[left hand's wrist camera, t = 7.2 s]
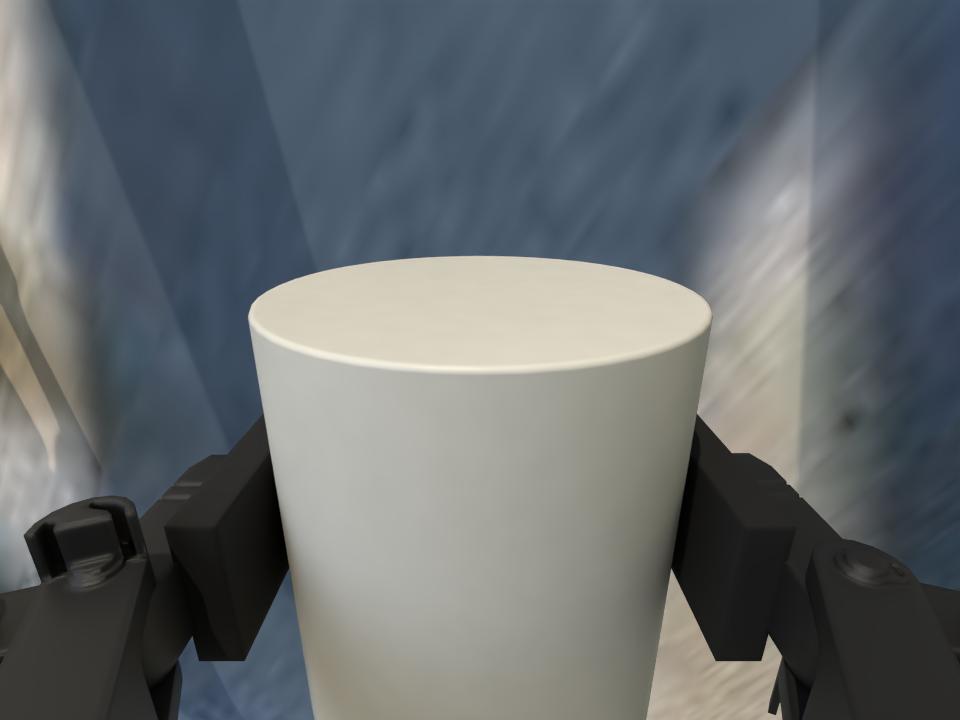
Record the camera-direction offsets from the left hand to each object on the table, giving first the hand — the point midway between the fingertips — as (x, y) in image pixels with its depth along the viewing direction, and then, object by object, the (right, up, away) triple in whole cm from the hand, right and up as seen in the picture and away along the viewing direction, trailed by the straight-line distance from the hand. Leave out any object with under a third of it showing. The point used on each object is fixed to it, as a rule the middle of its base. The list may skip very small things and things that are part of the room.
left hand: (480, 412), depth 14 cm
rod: (0, -8, +3) cm, 8 cm away
